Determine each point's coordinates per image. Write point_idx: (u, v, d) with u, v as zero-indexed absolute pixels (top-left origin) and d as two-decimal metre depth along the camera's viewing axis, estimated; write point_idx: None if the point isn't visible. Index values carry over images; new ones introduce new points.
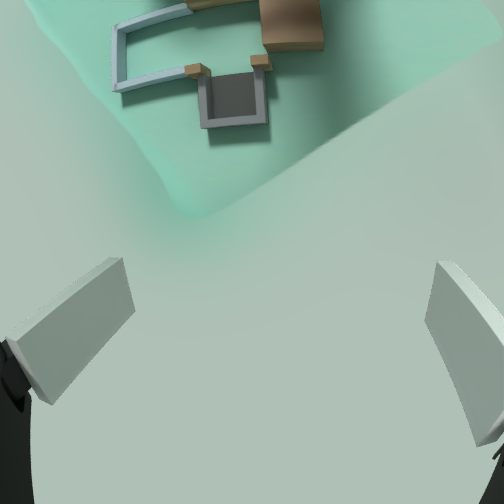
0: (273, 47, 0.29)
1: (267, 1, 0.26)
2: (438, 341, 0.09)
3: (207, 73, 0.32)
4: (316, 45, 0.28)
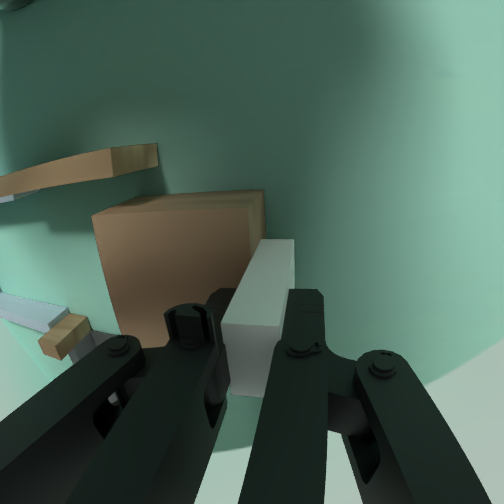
0: None
1: (112, 232, 0.12)
2: None
3: (80, 335, 0.19)
4: None
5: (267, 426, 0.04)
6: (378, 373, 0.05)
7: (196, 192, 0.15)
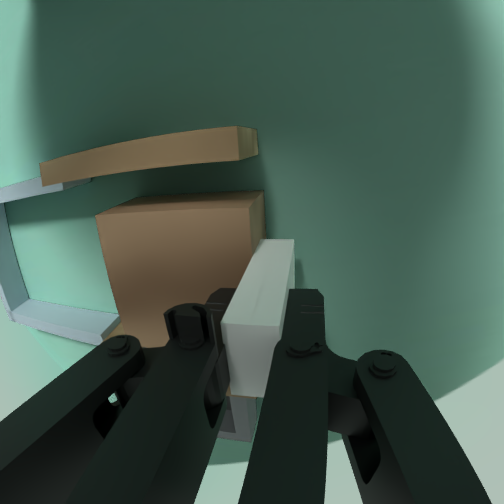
0: None
1: (115, 231, 0.12)
2: None
3: None
4: None
5: (267, 426, 0.04)
6: (378, 373, 0.05)
7: None
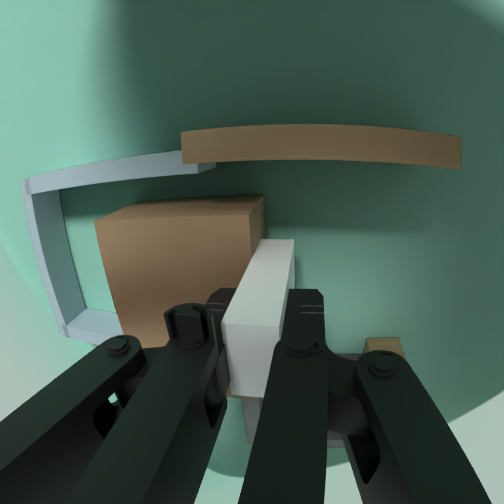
0: None
1: (114, 238, 0.12)
2: None
3: None
4: None
5: (267, 426, 0.04)
6: (378, 373, 0.05)
7: (197, 197, 0.15)
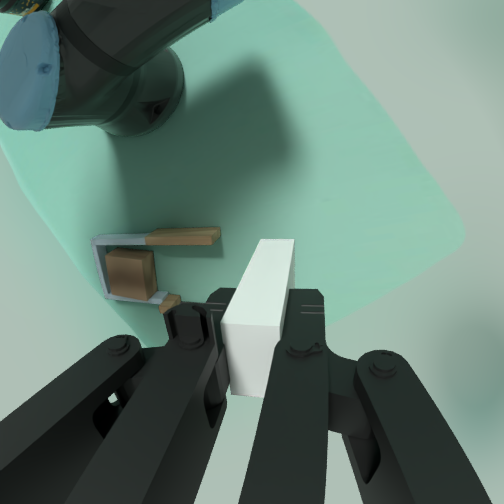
0: None
1: (110, 260, 0.43)
2: None
3: (177, 303, 0.47)
4: None
5: (267, 426, 0.04)
6: (378, 373, 0.05)
7: None
